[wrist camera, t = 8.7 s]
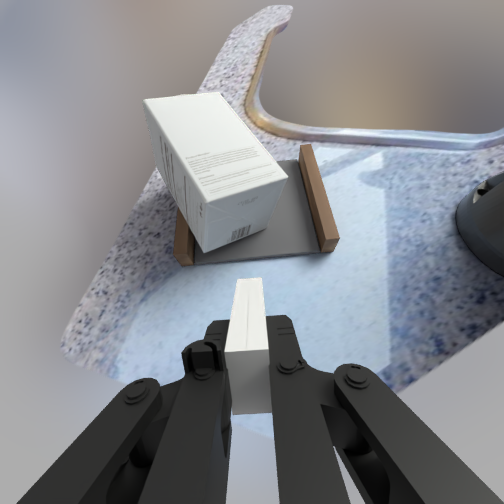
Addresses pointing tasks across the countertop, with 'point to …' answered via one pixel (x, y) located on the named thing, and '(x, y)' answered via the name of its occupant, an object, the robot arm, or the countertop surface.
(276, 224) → the mat
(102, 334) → the countertop surface
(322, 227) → the rails
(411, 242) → the countertop surface
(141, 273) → the countertop surface
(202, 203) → the supplement box
